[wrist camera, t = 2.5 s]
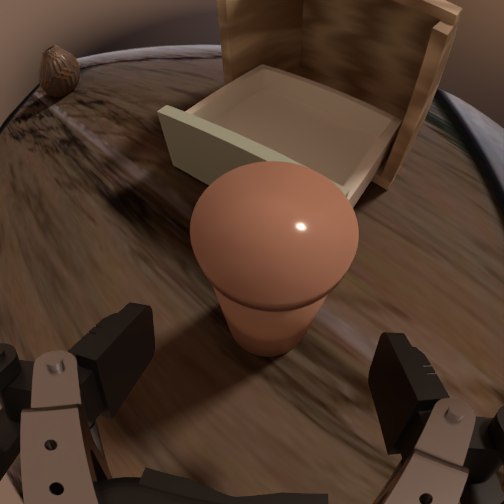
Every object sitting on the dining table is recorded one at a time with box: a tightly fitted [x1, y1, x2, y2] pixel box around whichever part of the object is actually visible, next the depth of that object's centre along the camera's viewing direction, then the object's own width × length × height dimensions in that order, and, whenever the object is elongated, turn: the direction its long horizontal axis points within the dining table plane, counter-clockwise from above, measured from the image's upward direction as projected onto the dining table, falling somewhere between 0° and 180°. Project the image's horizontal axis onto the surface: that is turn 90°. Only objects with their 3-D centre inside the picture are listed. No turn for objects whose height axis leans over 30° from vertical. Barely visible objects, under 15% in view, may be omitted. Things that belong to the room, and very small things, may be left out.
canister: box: [190, 161, 359, 357], centre depth 15 cm, size 6×6×11 cm
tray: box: [157, 64, 402, 208], centre depth 23 cm, size 15×13×6 cm
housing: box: [217, 0, 462, 190], centre depth 23 cm, size 18×14×16 cm
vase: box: [38, 45, 80, 97], centre depth 33 cm, size 7×7×9 cm
